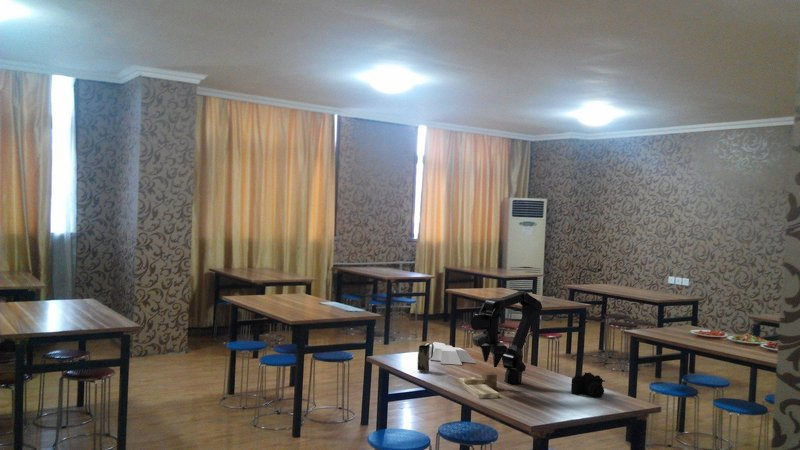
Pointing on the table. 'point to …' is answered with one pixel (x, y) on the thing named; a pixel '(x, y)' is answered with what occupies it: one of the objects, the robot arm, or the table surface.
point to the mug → (424, 357)
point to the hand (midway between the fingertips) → (490, 364)
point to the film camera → (587, 385)
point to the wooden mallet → (485, 379)
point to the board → (477, 388)
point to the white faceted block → (449, 354)
